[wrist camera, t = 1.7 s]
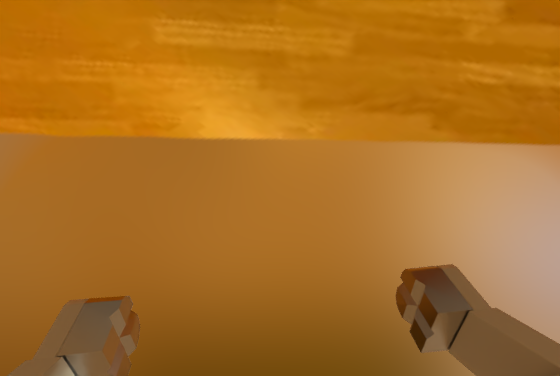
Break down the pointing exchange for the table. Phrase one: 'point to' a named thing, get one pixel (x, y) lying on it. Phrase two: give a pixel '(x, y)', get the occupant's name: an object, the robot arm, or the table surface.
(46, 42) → the table surface
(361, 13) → the table surface
